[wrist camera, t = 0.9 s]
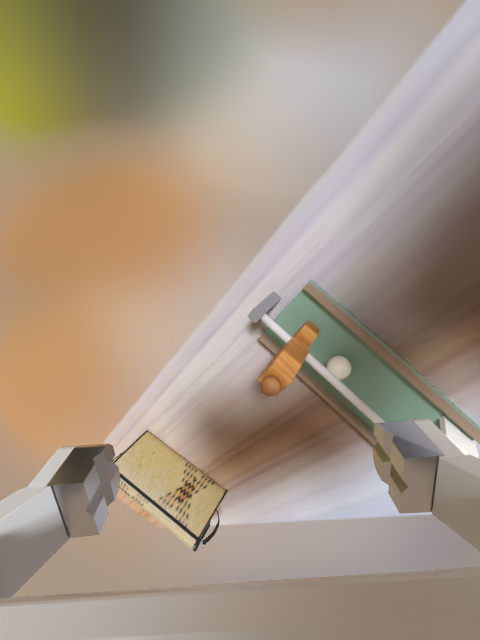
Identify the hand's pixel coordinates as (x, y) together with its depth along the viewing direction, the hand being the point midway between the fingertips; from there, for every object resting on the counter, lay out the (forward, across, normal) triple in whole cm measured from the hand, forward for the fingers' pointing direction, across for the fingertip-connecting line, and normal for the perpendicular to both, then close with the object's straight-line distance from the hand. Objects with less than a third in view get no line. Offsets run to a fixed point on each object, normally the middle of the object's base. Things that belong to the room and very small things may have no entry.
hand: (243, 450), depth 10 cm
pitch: (+36, -18, +18) cm, 44 cm away
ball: (+35, -14, +16) cm, 41 cm away
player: (+38, -9, +11) cm, 41 cm away
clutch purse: (+58, +19, +52) cm, 81 cm away
